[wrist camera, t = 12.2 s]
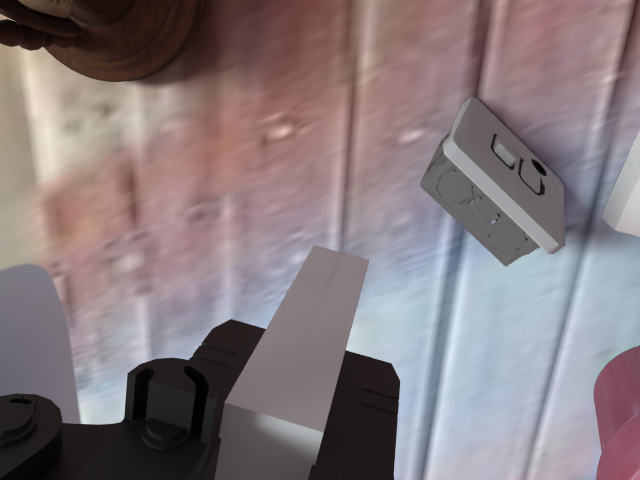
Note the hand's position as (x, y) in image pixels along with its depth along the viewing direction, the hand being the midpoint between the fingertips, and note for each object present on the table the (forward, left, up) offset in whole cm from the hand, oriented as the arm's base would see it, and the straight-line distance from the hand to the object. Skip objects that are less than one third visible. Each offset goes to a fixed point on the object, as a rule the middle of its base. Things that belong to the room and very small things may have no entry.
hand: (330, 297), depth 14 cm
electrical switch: (0, +8, -27) cm, 28 cm away
